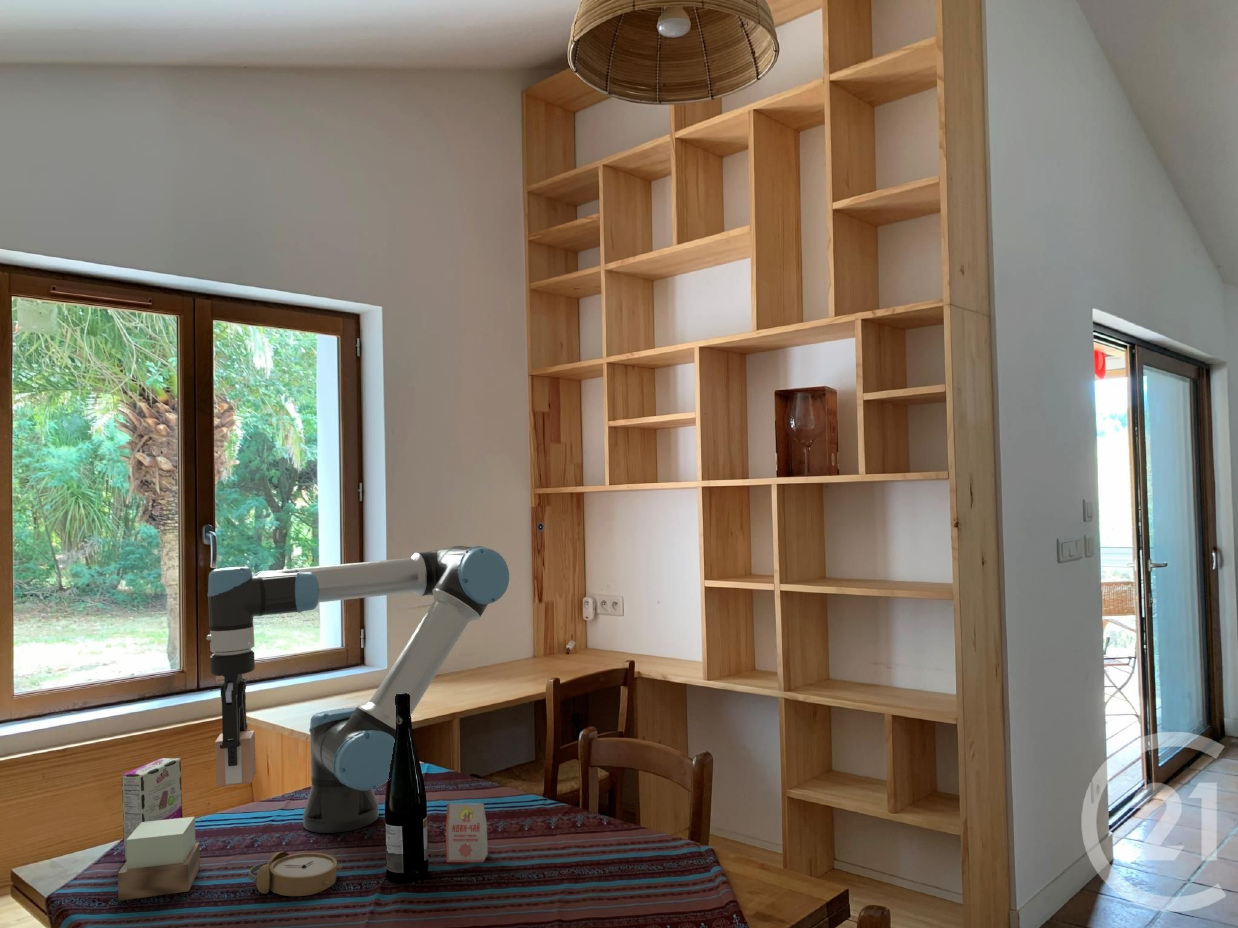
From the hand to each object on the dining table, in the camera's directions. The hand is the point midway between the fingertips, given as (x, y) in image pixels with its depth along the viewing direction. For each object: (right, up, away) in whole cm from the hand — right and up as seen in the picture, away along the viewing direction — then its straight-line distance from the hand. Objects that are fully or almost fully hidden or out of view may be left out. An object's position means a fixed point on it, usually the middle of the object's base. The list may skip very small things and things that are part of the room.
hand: (236, 777), depth 169 cm
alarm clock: (+13, -16, -9) cm, 23 cm away
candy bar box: (-20, -18, +10) cm, 29 cm away
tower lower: (-11, -17, -6) cm, 21 cm away
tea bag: (+42, -15, 0) cm, 45 cm away
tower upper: (-11, -12, -6) cm, 17 cm away
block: (0, 0, 0) cm, 0 cm away
